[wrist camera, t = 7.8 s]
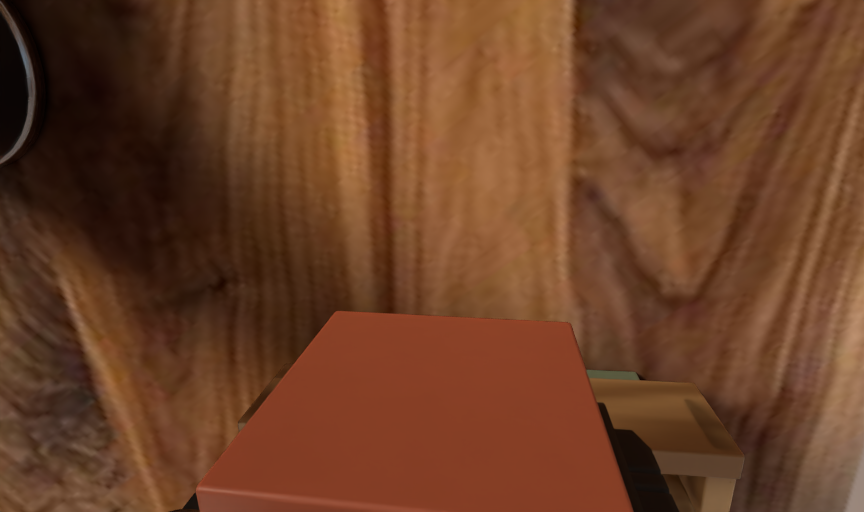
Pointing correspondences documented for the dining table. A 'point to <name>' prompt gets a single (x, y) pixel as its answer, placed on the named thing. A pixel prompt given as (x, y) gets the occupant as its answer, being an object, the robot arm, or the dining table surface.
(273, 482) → the block
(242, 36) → the dining table surface
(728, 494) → the open box
